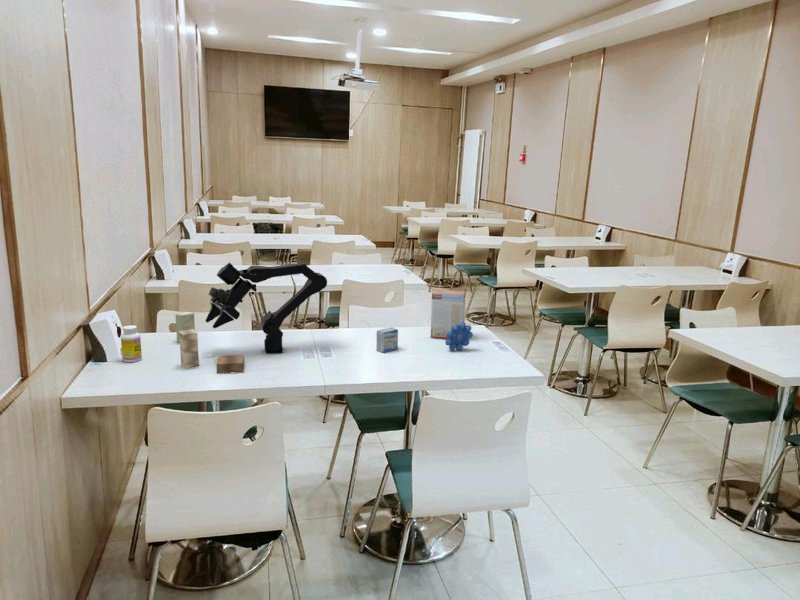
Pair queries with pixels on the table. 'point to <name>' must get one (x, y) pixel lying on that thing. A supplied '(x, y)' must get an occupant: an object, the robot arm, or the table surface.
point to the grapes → (459, 336)
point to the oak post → (189, 348)
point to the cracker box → (446, 311)
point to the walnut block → (230, 363)
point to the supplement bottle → (131, 344)
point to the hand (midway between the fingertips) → (209, 324)
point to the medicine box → (387, 340)
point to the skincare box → (184, 322)
